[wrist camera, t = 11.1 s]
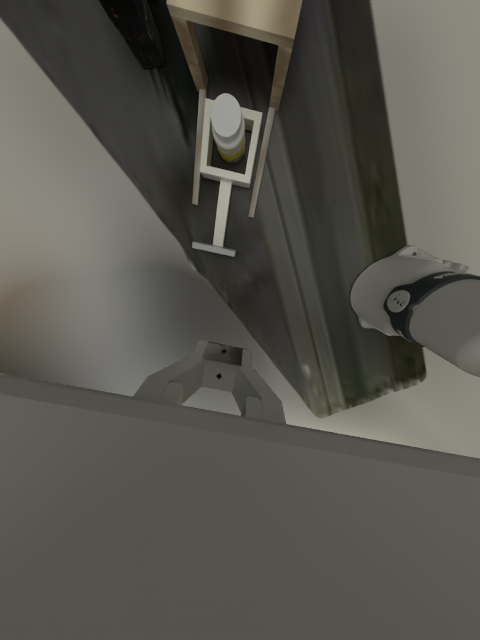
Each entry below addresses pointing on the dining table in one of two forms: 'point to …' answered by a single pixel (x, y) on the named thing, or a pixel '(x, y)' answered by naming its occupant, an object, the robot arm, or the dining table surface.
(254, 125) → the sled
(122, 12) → the green backpack
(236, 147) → the supplement bottle
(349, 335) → the dining table surface
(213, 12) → the tunnel
